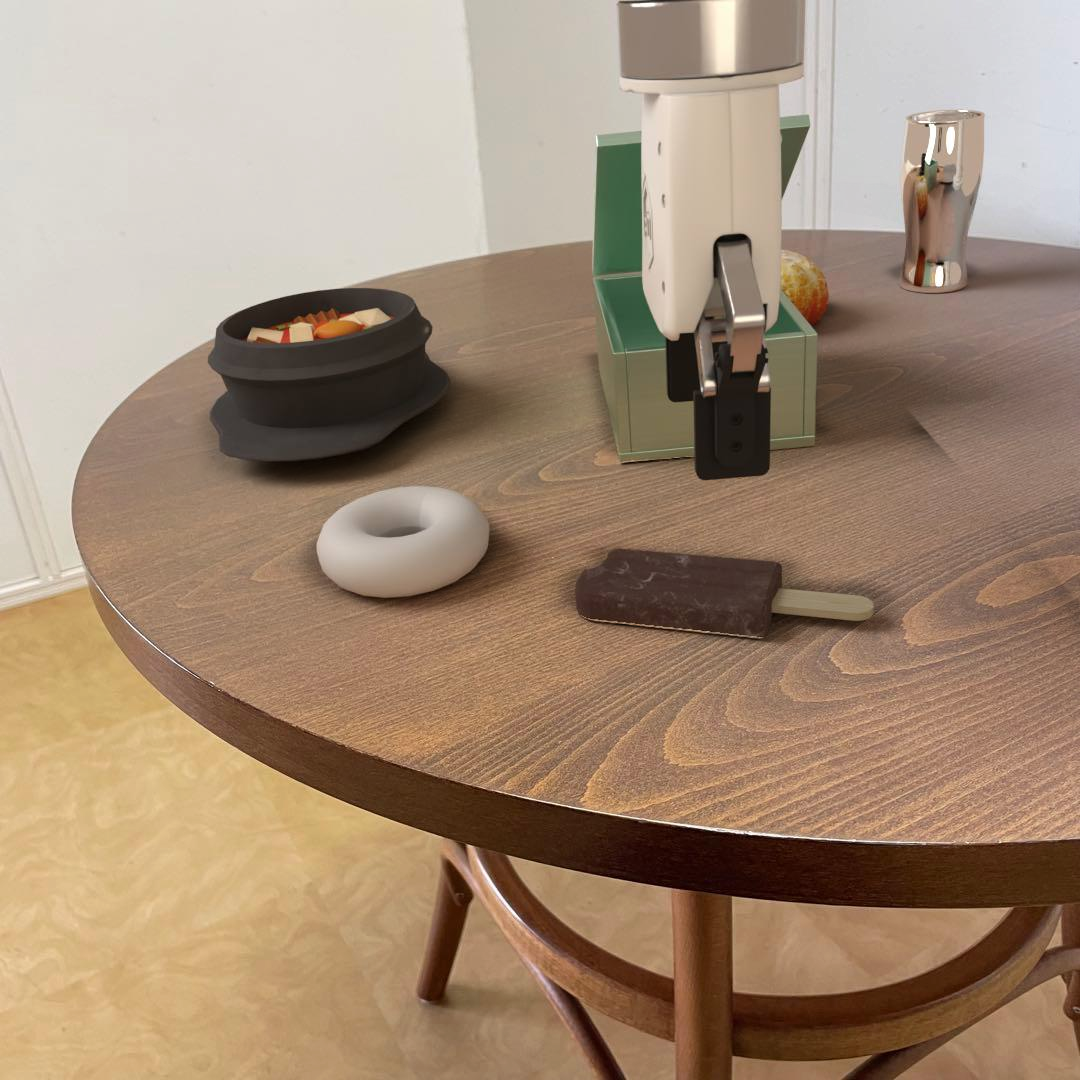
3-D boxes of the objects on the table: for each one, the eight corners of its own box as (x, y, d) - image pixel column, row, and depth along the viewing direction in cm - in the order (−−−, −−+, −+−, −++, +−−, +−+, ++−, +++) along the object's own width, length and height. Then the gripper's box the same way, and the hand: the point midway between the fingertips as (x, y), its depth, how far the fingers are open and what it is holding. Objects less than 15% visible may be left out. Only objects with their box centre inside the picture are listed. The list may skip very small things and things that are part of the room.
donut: (297, 610, 62) (472, 609, 60) (284, 556, 61) (462, 553, 59) (354, 527, 71) (508, 524, 69) (344, 477, 70) (501, 473, 68)
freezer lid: (810, 125, 69) (799, 47, 70) (597, 146, 69) (589, 68, 70) (759, 260, 89) (751, 197, 89) (592, 276, 89) (586, 213, 90)
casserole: (429, 477, 77) (412, 359, 73) (165, 493, 78) (134, 378, 74) (470, 358, 99) (458, 262, 95) (263, 372, 100) (243, 279, 96)
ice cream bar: (877, 597, 58) (598, 571, 63) (878, 569, 57) (596, 545, 62) (867, 652, 54) (569, 620, 59) (869, 623, 53) (566, 593, 58)
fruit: (813, 342, 93) (786, 249, 90) (701, 367, 99) (672, 280, 96) (851, 301, 101) (827, 214, 98) (745, 326, 107) (720, 245, 105)
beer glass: (883, 291, 105) (891, 122, 98) (908, 272, 110) (918, 109, 103) (959, 297, 101) (973, 121, 95) (981, 277, 106) (997, 108, 99)
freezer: (815, 446, 75) (818, 333, 72) (620, 464, 76) (613, 353, 72) (758, 356, 92) (758, 261, 89) (599, 371, 93) (592, 277, 89)
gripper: (602, 39, 54) (619, 380, 62) (640, 71, 38) (656, 520, 46) (760, 26, 54) (756, 369, 62) (861, 52, 38) (839, 505, 46)
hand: (713, 433), depth 54 cm, fingers open, 9 cm apart
